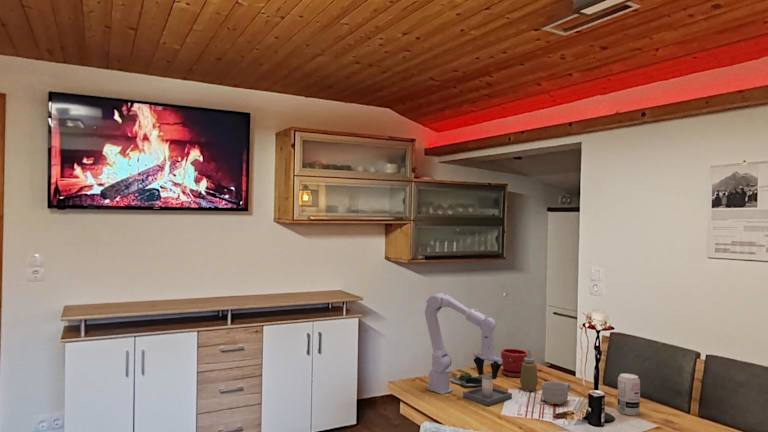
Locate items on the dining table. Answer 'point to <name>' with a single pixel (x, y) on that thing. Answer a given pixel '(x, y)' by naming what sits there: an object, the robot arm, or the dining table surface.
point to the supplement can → (628, 394)
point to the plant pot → (512, 361)
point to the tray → (497, 398)
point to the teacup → (555, 392)
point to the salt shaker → (487, 386)
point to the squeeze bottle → (529, 373)
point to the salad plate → (467, 380)
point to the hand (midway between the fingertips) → (487, 376)
